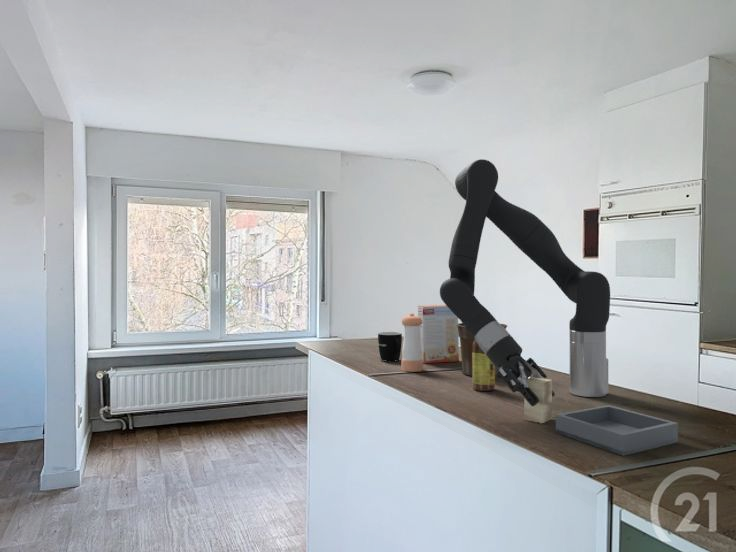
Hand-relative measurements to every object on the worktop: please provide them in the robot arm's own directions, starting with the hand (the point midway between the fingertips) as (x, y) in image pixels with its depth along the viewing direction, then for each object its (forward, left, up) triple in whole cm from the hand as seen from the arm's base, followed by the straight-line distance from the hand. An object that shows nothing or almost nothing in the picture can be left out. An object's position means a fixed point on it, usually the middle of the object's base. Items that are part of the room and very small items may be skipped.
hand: (544, 400), depth 122 cm
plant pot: (-22, -49, -5) cm, 54 cm away
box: (-3, +16, -5) cm, 17 cm away
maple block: (+1, -1, -5) cm, 5 cm away
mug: (-9, -85, -5) cm, 86 cm away
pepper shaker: (-6, -66, -5) cm, 67 cm away
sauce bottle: (-8, -31, -5) cm, 33 cm away
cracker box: (-23, -75, -5) cm, 79 cm away
